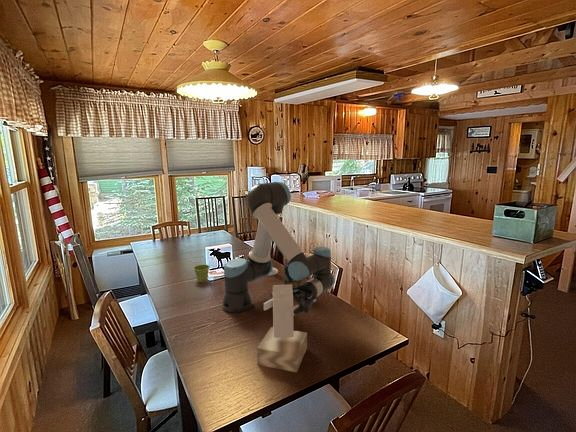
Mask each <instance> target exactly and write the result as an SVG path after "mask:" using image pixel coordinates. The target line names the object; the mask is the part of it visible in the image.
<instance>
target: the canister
mask: <svg viewBox="0 0 576 432" xmlns="http://www.w3.org/2000/svg"><path fill="white" fill-rule="evenodd" d="M288 267H289V263H288V262H286V263H284V265H283V271H284V272H283V273H284V274H283V275H284V276H283V277H284V278H283V280H284V283H283V285H291V284H292V290H297V289H298V287H299V286H300V285H301V284H302V280H299V281H296V280H294V279H292V278H291V277H290V275H289V272H288Z"/></svg>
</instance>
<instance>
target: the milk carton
mask: <svg viewBox="0 0 576 432" xmlns="http://www.w3.org/2000/svg"><path fill="white" fill-rule="evenodd" d="M272 294H273V306H272V318H273V319H272V320H273V321H272V325H273V326H272V327H273V329H274V338H281V337H293V331H294V316H292V317H291V318H289V319H286V311H288V310H290V309H291V308H293V307H294V300H293V290H292V284H291V285H284V284H275V285H274V284H273V285H272Z"/></svg>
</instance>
